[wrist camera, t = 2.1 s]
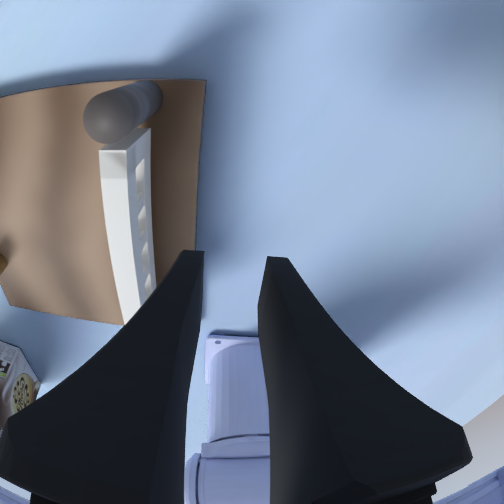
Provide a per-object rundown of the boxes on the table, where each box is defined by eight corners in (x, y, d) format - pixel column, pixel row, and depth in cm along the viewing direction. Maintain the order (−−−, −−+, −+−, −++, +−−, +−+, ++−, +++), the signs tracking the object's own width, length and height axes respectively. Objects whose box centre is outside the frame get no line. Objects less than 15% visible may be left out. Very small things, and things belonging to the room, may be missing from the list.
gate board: (206, 80, 14) (187, 92, 9) (194, 323, 24) (187, 393, 19) (-35, 106, 12) (-98, 138, 7) (14, 298, 22) (-15, 349, 17)
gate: (157, 296, 20) (146, 340, 17) (140, 294, 20) (127, 337, 17) (150, 128, 14) (126, 150, 11) (128, 127, 14) (98, 150, 10)
